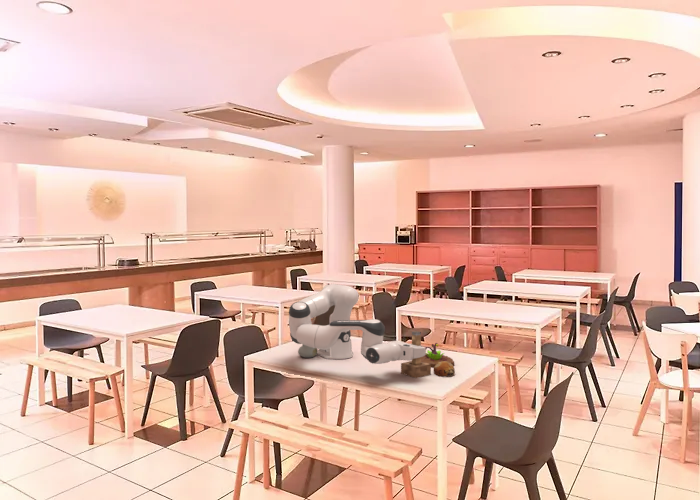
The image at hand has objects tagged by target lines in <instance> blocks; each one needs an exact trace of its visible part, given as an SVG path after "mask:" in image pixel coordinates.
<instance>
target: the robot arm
mask: <svg viewBox="0 0 700 500" xmlns="http://www.w3.org/2000/svg"><path fill="white" fill-rule="evenodd" d="M359 295H360V294H359V292H358V290H357V289H356V288H354V287H352V286H350V285H345V284H336V283H331V284H326V285H325V286H324V287H322V289H321V290H320V291H318V292H316V293H315V294H311V295H310V296H307V297H304V298H303V299H300V300H299V301H296V302H294V303H292V304H291V305H290V306H289V309H288V325H289V331H290V333H289V335H290V339H291V341H292V342H294V343H295V344H297V345H302V344H303V345H306V346H309V347H312V348H317V354H316V355H318V356H320V357H322V358H324V359H326V360H327V359H328V360H330V359H331V360H332V359H334V360H344V359H345V360H346V359H350V358H352V357H353V355H354V351H353V348H352V347H353V346H352V339H351V334H352V333H351V331H357V330H358V331H362V336H361V344H360V354H361V355H362V356H363V358H365V360H367V361H368V362H369V363H370V364H372V365H382V364H387V363H390V362H396V361H406V362H409V361H412V359H415V358H420V357H423V356H425V355H426V353H427V349H426V348H425V347H426V346H425V347H424V346H423V345H422V344H421V345H418V346H416V345H412V343H407V342H404V341H402V340H392V341H389V342H383V341H384V335H385V331H386V327H385V325H384V323H383V322H382V321H381V319H380V320H379V319H375V318H374V319H373V318H372V319H371V318H370V319H351V315H352V310H353V308H354V306H355V305H356V304H358V301H359V297H360V296H359ZM333 306H334V308H333V312H332V313H331V314H330V315H329V324H327V325H321V324H312V319H313V318H316V317H318V316H321V315H323V314H325V313H327V312H328V311H329V309H330V308H331V307H333Z"/></svg>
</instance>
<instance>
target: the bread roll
mask: <svg viewBox="0 0 700 500" xmlns="http://www.w3.org/2000/svg"><path fill="white" fill-rule="evenodd" d="M455 371H456V370H455V365H454V366H453V365H452V364H451V363H449V362H447V361H442V362H438V363H437V364H436V365H435V367H434V368H433V374H434V375H436V376H437V377H443V378H450V377H453V376H454V375H455V373H456V372H455Z"/></svg>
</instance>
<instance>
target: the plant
mask: <svg viewBox="0 0 700 500" xmlns="http://www.w3.org/2000/svg"><path fill="white" fill-rule="evenodd" d="M438 347H439V343H438V342H435V343H432V344H431V347H430V346H425V348H426V350H427V349H429V350H427V352H426V354H425V356H423V357H421V362H425V363H428V364H431V369H432V368H433V369H434V367H435V365H436V364H437V363H438V362H442V361H447V362H449V363H451V364H452V365H453V366H454V367H455V361H454V360H453V358H452V357H450V356H447V355H444V354H445V352H443V353H442V351H441V350H437V348H438Z"/></svg>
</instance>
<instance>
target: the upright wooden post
mask: <svg viewBox="0 0 700 500" xmlns="http://www.w3.org/2000/svg"><path fill="white" fill-rule="evenodd" d="M421 342H422V332H421V331H417V330H415V331H411V344H412V345H416V346H418V345H421V346H422V343H421ZM411 361H412V365H421V357H420V358H415V359H412V360H411Z"/></svg>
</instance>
